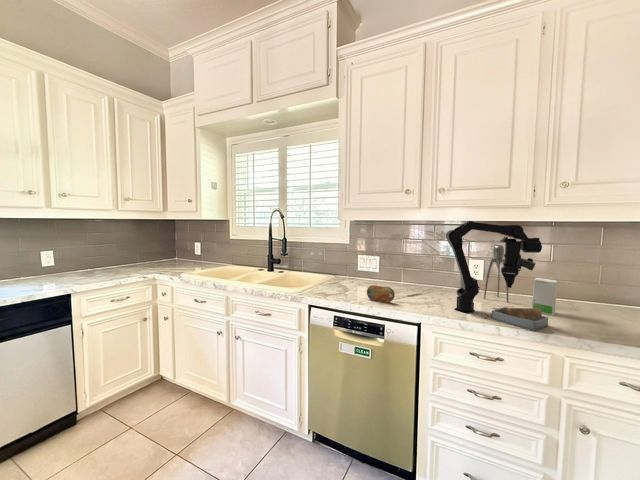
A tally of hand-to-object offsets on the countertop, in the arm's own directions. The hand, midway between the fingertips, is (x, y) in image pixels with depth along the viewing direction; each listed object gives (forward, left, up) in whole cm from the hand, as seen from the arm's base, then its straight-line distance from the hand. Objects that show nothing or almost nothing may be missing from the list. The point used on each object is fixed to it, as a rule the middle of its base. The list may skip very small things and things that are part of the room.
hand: (510, 285), depth 126 cm
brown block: (+3, -10, -10) cm, 14 cm away
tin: (-45, -38, -13) cm, 60 cm away
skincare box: (+7, +16, -13) cm, 22 cm away
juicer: (-14, +19, -13) cm, 27 cm away
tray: (+8, -9, -13) cm, 17 cm away
